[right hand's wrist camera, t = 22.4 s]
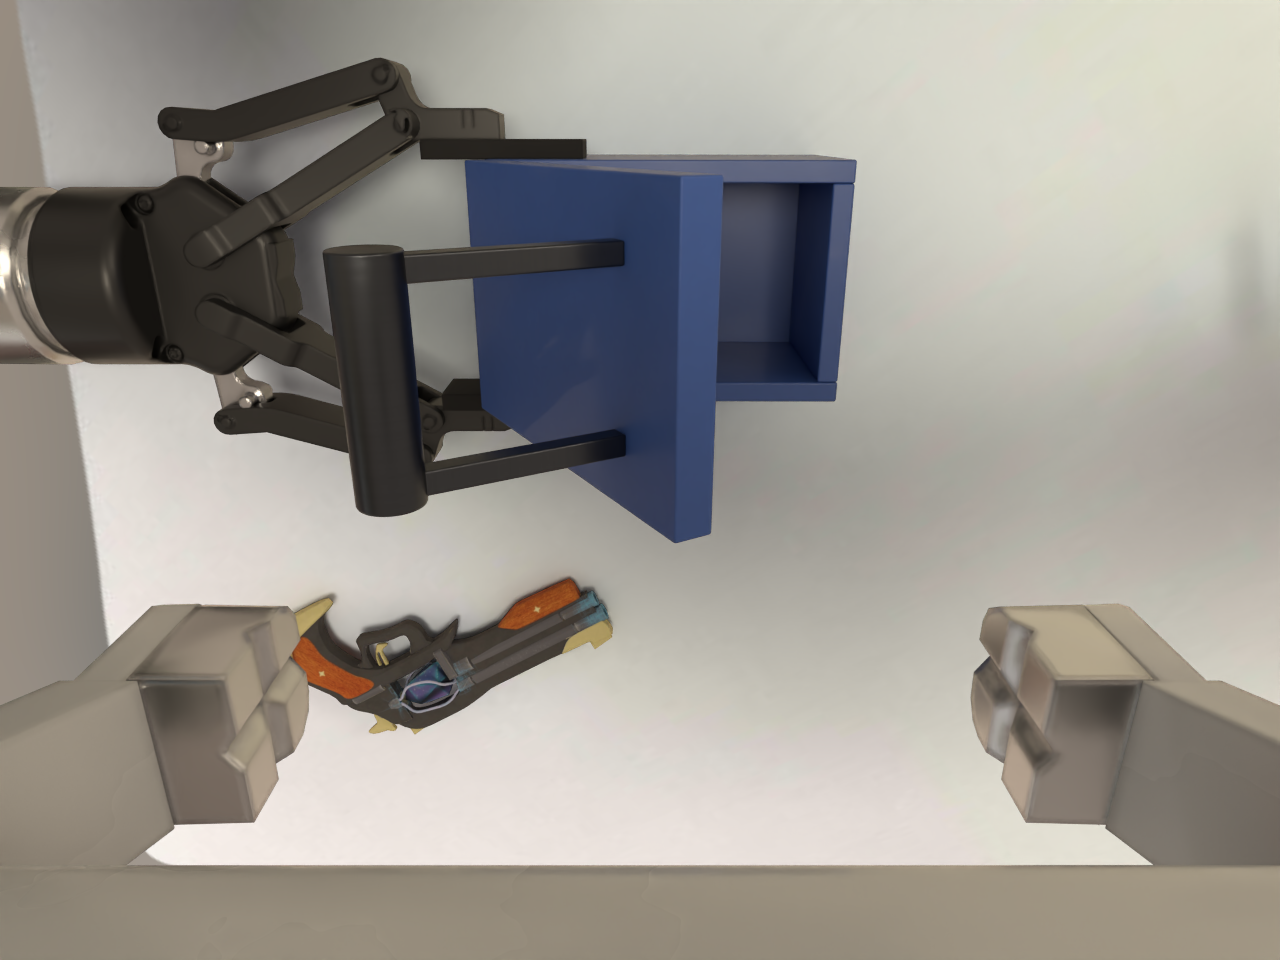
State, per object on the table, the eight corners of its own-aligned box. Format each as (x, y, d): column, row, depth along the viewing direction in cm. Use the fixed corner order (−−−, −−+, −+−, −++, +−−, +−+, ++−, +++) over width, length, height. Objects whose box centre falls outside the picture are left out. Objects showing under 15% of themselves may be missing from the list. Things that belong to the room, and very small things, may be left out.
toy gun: (241, 646, 49) (337, 783, 51) (531, 495, 47) (618, 644, 49) (261, 627, 52) (351, 758, 54) (537, 483, 50) (619, 625, 52)
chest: (816, 155, 42) (857, 159, 34) (801, 354, 46) (836, 402, 37) (514, 154, 42) (483, 159, 34) (524, 353, 46) (497, 401, 38)
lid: (724, 174, 21) (345, 183, 17) (711, 534, 25) (396, 617, 21) (495, 159, 34) (240, 163, 29) (509, 403, 37) (284, 438, 33)
